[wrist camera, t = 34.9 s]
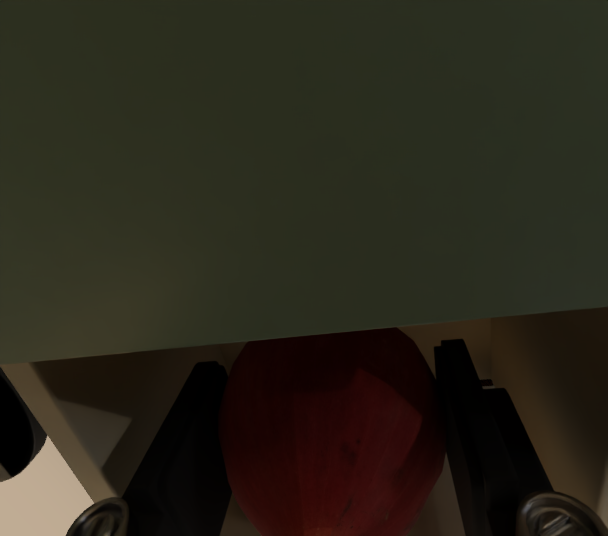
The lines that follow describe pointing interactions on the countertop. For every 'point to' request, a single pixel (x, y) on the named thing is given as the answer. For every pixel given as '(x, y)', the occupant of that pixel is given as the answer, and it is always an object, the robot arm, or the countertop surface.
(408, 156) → the cabinet
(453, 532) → the drawer
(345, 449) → the onion
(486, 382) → the countertop surface
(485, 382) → the countertop surface
